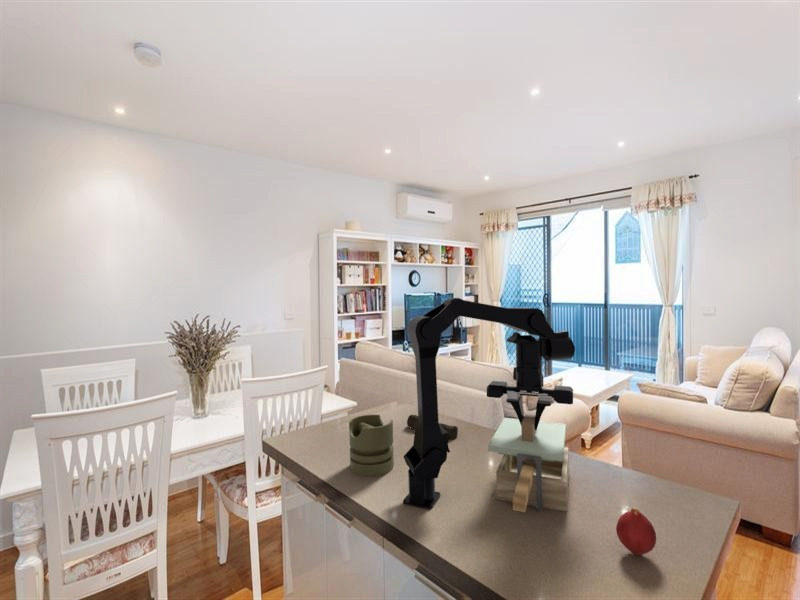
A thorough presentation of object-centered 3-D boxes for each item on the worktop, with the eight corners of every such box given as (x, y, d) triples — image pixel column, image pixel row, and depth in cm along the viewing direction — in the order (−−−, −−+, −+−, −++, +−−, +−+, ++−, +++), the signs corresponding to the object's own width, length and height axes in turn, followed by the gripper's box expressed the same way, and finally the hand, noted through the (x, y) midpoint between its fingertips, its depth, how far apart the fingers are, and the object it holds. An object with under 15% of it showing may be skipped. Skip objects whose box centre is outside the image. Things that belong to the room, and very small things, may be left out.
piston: (375, 412, 113) (401, 421, 104) (376, 454, 113) (402, 467, 104) (340, 420, 106) (365, 431, 97) (342, 466, 106) (366, 481, 97)
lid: (563, 466, 81) (562, 435, 81) (488, 455, 87) (487, 426, 87) (566, 433, 100) (565, 408, 100) (504, 425, 106) (504, 402, 106)
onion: (620, 539, 72) (620, 495, 72) (658, 552, 68) (658, 505, 68) (613, 556, 68) (612, 509, 67) (653, 571, 64) (653, 521, 64)
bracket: (541, 511, 82) (540, 458, 82) (517, 507, 84) (516, 455, 84) (542, 509, 83) (541, 456, 82) (518, 505, 84) (517, 453, 84)
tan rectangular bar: (525, 512, 68) (524, 500, 68) (512, 509, 69) (512, 498, 69) (533, 476, 81) (533, 466, 81) (523, 475, 82) (522, 465, 81)
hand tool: (459, 437, 125) (458, 422, 125) (451, 441, 122) (451, 426, 122) (412, 425, 138) (412, 411, 138) (405, 428, 135) (404, 414, 135)
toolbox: (566, 511, 82) (566, 482, 81) (496, 499, 87) (496, 471, 87) (568, 471, 100) (568, 446, 100) (510, 462, 105) (510, 439, 105)
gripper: (573, 358, 97) (573, 423, 97) (494, 354, 105) (495, 414, 105) (572, 366, 87) (573, 438, 87) (485, 361, 94) (486, 428, 95)
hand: (529, 428), depth 94 cm, fingers closed on lid, 2 cm apart
